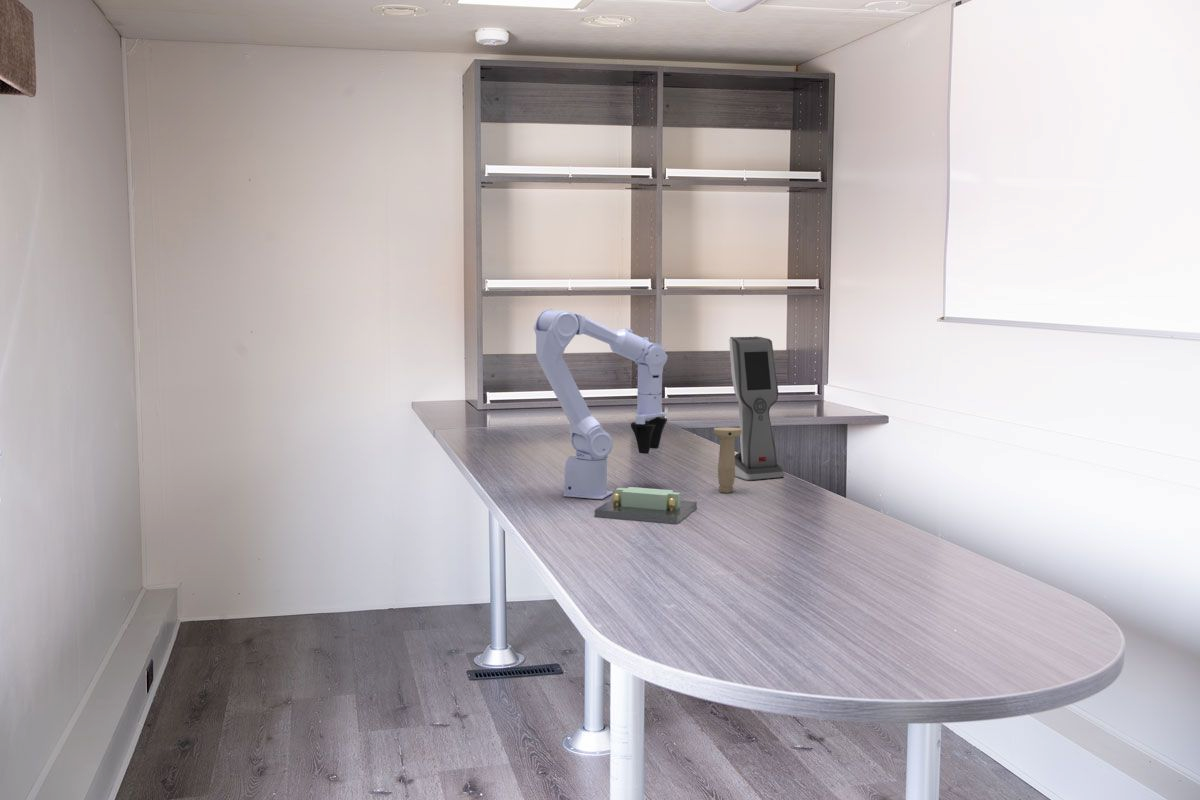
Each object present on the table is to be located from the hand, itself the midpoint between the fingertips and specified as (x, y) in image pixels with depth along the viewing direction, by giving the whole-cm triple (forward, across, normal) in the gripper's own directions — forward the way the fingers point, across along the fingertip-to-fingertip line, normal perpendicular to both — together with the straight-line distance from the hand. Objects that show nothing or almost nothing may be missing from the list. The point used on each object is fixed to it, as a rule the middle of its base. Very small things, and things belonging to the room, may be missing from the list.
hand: (648, 450), depth 259 cm
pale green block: (+8, -23, -7) cm, 25 cm away
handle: (+10, +5, -18) cm, 21 cm away
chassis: (+9, -23, -7) cm, 26 cm away
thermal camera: (+10, +28, -19) cm, 35 cm away
